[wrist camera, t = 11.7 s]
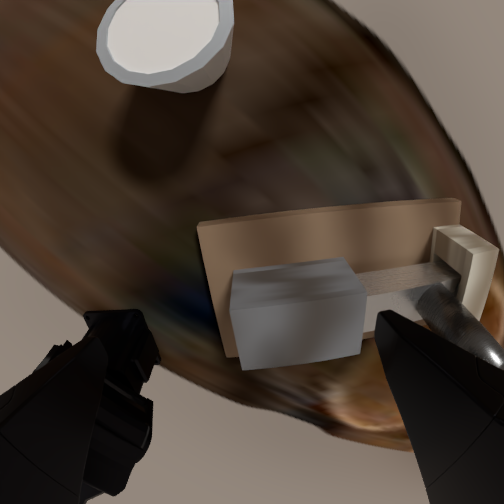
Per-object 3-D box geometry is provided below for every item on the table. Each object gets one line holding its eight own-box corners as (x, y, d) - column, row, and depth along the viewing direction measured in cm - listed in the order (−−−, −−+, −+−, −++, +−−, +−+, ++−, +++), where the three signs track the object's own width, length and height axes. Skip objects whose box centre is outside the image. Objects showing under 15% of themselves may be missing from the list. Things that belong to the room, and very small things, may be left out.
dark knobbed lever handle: (283, 318, 21) (305, 455, 10) (280, 284, 20) (306, 425, 9) (449, 288, 20) (524, 372, 10) (455, 257, 19) (543, 336, 9)
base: (227, 348, 25) (222, 404, 19) (199, 222, 20) (179, 260, 14) (434, 313, 24) (466, 354, 18) (453, 197, 19) (503, 222, 13)
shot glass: (178, 121, 17) (142, 116, 11) (125, 58, 15) (74, 34, 9) (260, 61, 16) (266, 25, 9) (200, 0, 13) (180, -49, 7)
